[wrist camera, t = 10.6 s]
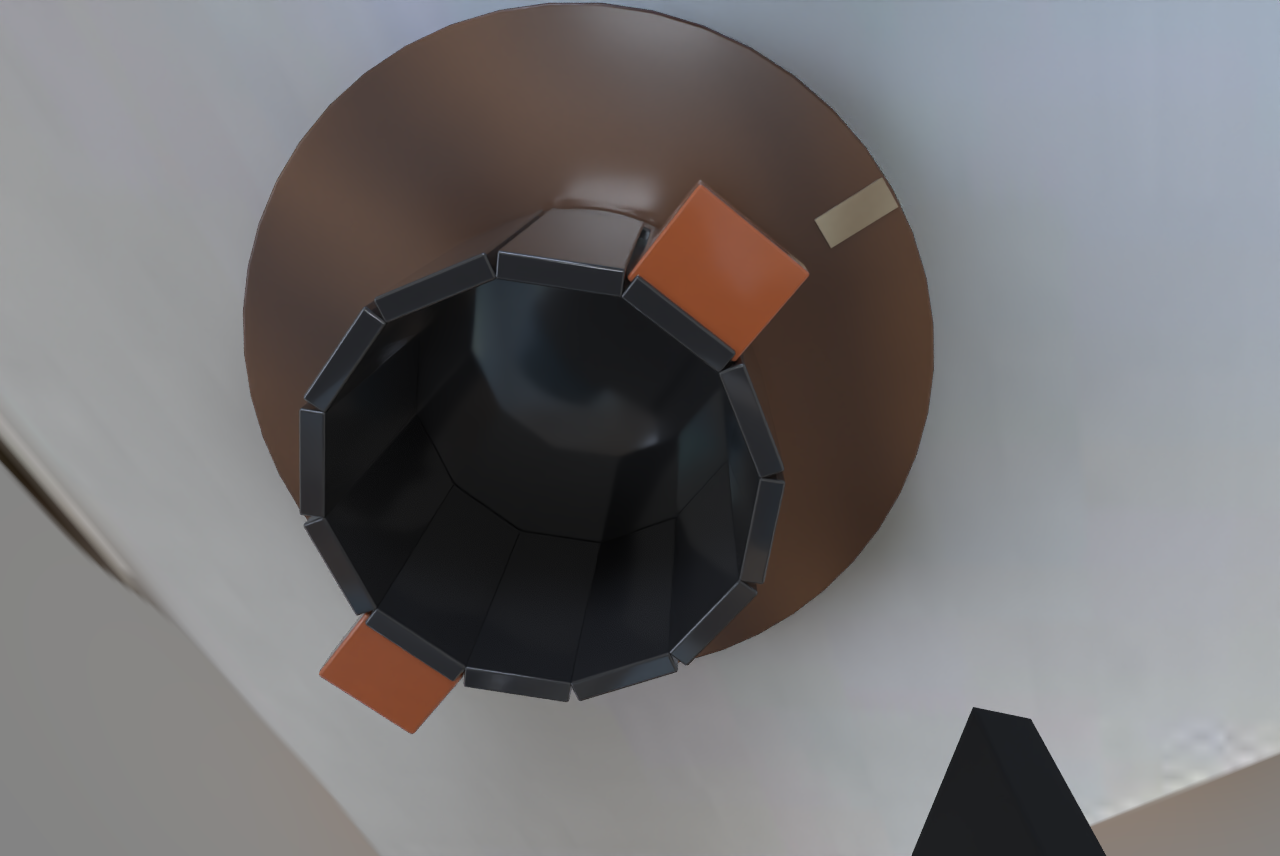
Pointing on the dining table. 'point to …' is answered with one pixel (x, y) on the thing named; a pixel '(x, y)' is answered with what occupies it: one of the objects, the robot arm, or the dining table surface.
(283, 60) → the dining table surface
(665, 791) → the dining table surface
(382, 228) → the turntable
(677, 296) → the cooking pot
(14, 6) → the dining table surface
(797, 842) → the dining table surface
